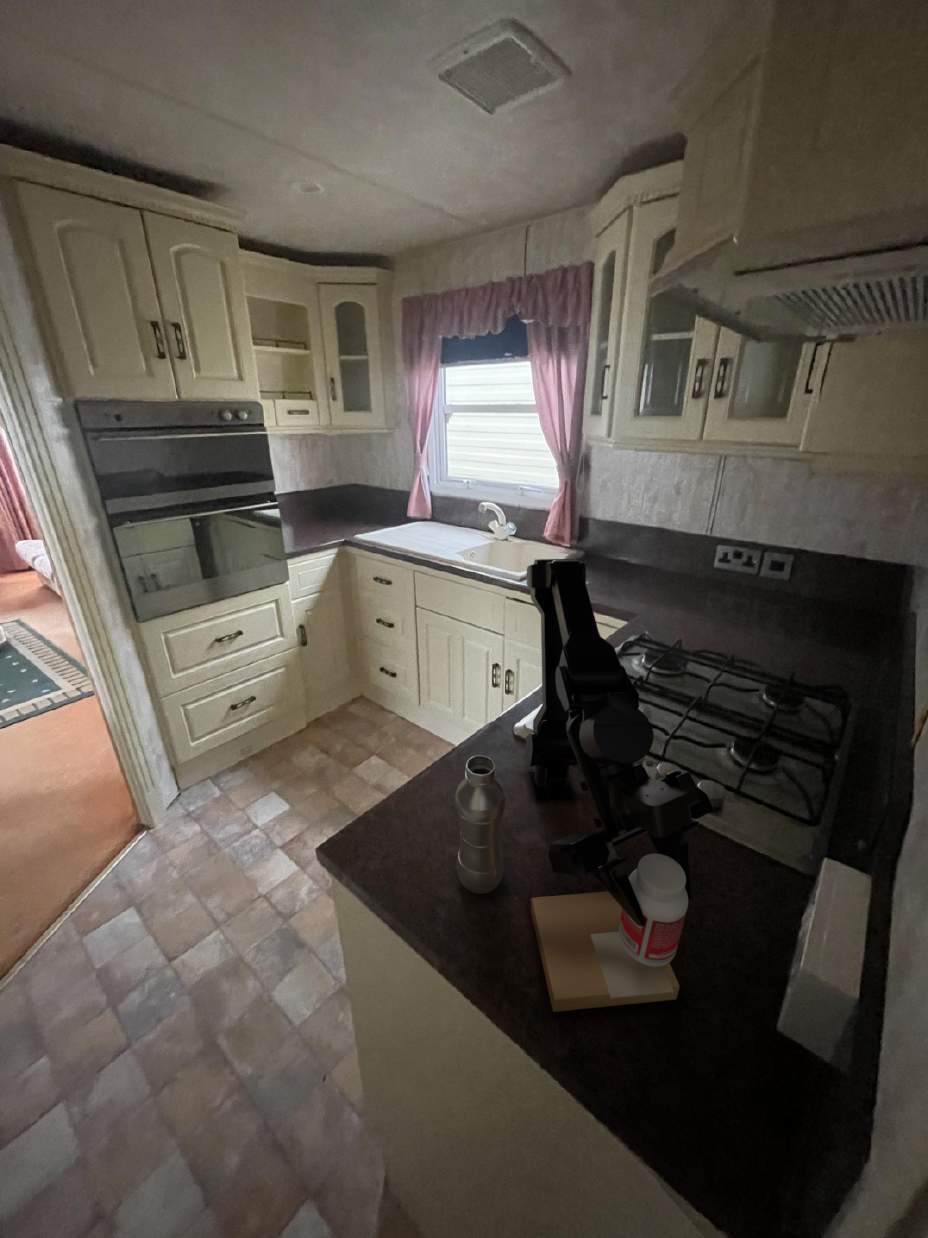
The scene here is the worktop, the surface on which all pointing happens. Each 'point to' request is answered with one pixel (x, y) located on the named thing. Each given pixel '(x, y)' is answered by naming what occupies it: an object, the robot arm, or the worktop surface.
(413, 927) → the worktop surface
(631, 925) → the pill bottle
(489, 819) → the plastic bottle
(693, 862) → the worktop surface
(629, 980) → the labeled cardboard parcel
